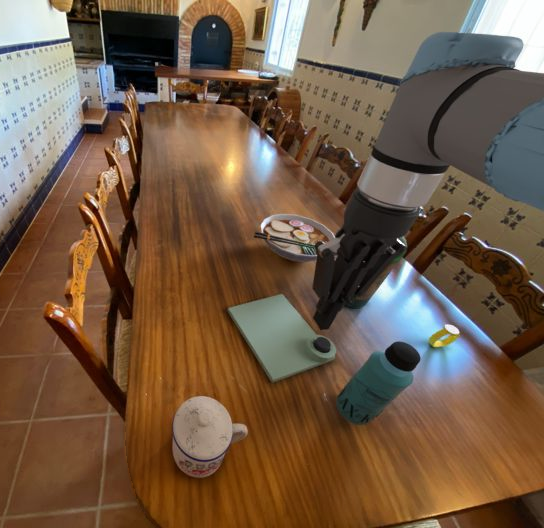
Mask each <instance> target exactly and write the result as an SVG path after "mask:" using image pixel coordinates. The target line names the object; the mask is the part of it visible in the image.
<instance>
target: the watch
mask: <svg viewBox="0 0 544 528" xmlns="http://www.w3.org/2000/svg"><path fill="white" fill-rule="evenodd" d="M460 333H461V332H460V330H459V328H458V327H456V326H455V325H452V324H447V323H446V324H444V325H443V327H442V329H439V330H438V331H436V332H434V333H433V334H432V335H431V336H429V338H428V343H429V344H430V345H431V346H432V347H433V348H434V349H435V348H440V347H446V346H448V345H451V344H453V343H454V342H455V341H457V340H458V339H459V337H460V335H461V334H460ZM447 335H448V336H447ZM445 336H447V337H446V338H443V337H445ZM442 338H443V339H442ZM440 339H441V340H440Z"/></svg>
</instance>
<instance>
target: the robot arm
mask: <svg viewBox="0 0 544 528" xmlns="http://www.w3.org/2000/svg"><path fill="white" fill-rule="evenodd" d="M523 49H524V41H523V39H522V38H520V37H517V36H510V35H498V34H488V33H474V32H473V33H472V32H457V31H456V32H455V31H436V32H434V33H432V34H430V35H429V36H427V37H426V38H425V39H423V41H422V42H421V44H420V45H419V47H418V48H417V51H416V53H415V55H414V57H413V59H412V61H411V63H410V65H409V67H408V69H407V71H406V73H405V75H404V76H403V77H402V79H401V80H400V82H399V86H398V89H397V90H396V94H395V96H394V98H393V99H392V100H393V101H392V102H391V105H390V107H389V110H388V112H387V115H386V117H385V119H384V122H383V124H382V126H381V128H380V131H379V133H378V135H377V138H376V140H375V142H374V145H373V148H372V149H371V152H370V154H369V156H368V158H367V160H366V163H365V165H364V167H363V169H362V172H361V174H360V175H359V178H358V180H357V183H356V184H357V188H356V189H354V190H353V191H352V193H351V196H350V198H349V200H348V202H347V205H346V207H345V209H344V211H343V224H342V225H341V227H340V228H339V229H338V231H336V233H335V234H334V236H335V239H333V240H331V241H329V242H327V243H325V244H324V242H323V241H318V242H317V243H316V244H315V249H316V252H317V260H315V267H314V274H313V282H312V287H311V288H312V290H313V292H314V293H315V295H316V296H317V298H318V301H317V303H316V304H315V309H316V310H315V312H314V313H313V316H312V319H313V321H314V323H315V324H316V326H317V327H318V329H319V330H320V331H325V330H330V328H331V326H332V324H333V323H334V320H335V319H336V318H337V316H338V314H339V313H340V312H341V311H342V310H343V308H344V306H346V305H345V303H347V304H348V305H350V304H353V303H354V302H355V301H354V300H353V299H352V297H353V296H354V295H356V296H357V297H360V296H362V295H363V294H364V293H365V292H366V291H367V290H368V288H369V287H370V286H371V285H372V284H373V283H374V282H375V281H376V279H377V278H378V277H379V276H380V275H381V274H382V273H383V271H384V270H385V269H386V268H387V267H388V266H389V265H390V264H391V262H392V261H393V260H394V259H395V258H397V257H398V256H399V255H401V254H402V253H403V252H404V251H406V252H407V250H408V245H407V246H405V245H404V244H403V243H401V242H400V241H399V240H398V238H401V237H405V236H406V235H407V234H408V233H409V232H410V230H411V228H412V226H413V225H414V223H415V222H416V221H417V218H418V217H419V215H420V214H421V212H422V208H421V207H424V206H425V205H427V204H428V202H429V201H430V199H431V197H432V196H433V194H434V193H435V191H436V189H437V188H438V186H439V185H440V183H441V181H442V179H443V178H444V177H445V175H446V173H447V171H448V170H449V168H450V166H451V167H453V168H455V169H457V170H458V171H460V172H461V173H464V174H466V175H467V176H470V177H471V178H473V179H474V180H477V181H479V182H481V183H483V184H485V185H487V186H488V187H490V188H492V189H494V191H495V192H496V193H498V194H501V195H503V197H505V198H507V199H508V200H511V201H514V202H519V203H523V204H525V205H528V206H529V207H532V208H535V209H538V210H540V211H542V212H544V72H535V71H528V70H527V71H526V70H520V69H518V68H516V67H517V66H516V61H517V60H518V58H519V57H520V55H521V53H522V52H523ZM406 249H407V250H406ZM359 285H360V287H359Z"/></svg>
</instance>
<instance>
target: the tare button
mask: <svg viewBox="0 0 544 528" xmlns="http://www.w3.org/2000/svg"><path fill="white" fill-rule="evenodd" d="M324 337H325V336H324ZM324 337H318V338H317V339H316V341H315V343H314V347H315V349H316V350H317V351H319V352H321V353H326V352H327V351H328V350H329V348H330V347H331V343H330V342H329V340H328V339H329V338H328V339H326V338H327V337H326V338H324Z"/></svg>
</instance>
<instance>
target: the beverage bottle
mask: <svg viewBox="0 0 544 528" xmlns="http://www.w3.org/2000/svg"><path fill="white" fill-rule="evenodd" d="M420 362H421V354H420V353H419V351H418V350H417V349H416V348H415V347H414V346H412V345H411V344H410V343H408V342H405V341H394V342H393V343H391V344H390V345H389V346H388V347H387V348H386V349H385V350H376V351H373V352H372V353H371V354H370V355H369V357H368V359H367V360H366V361H365V362H364V363H363V364H362V366H361V367H360V368H359V369H358V371H357V372H355V373H353V375H352V377H351V378H350V379H349V380H348V381H347V382H346V384H345V385H344V386H343V387H342V389H341V390H340V391H339V393H338V394H337V395H336V399H335V400H336V401H335V403H336V408H337V410H338V412H339V413H340V415H341V416H342V417H343V418H344V419H345V420H346V421H348V422H349V423H351V424H354V425H356V426H366V425H368V424H370V423H371V422H373V421H374V419H375V418H378V416H379V415H380V414H381V413H382V412H383V411H384V410H385V409H387V408H388V406H389V405H390V404H392V403H393V402H394V400H397V399H398V396H399V395H400V394H402V392H404V391H405V390H406V389H407V388H408V387H409V386H411V385H412V384H413V382H414V374H413V371H414V370H415V369H416V368H417V366H418V365H419V364H420Z"/></svg>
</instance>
